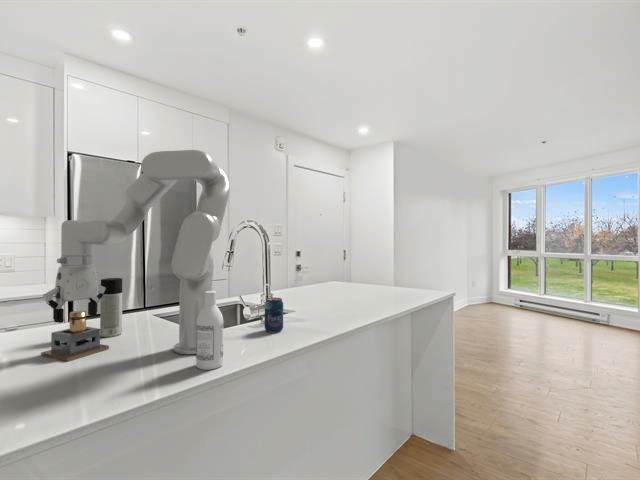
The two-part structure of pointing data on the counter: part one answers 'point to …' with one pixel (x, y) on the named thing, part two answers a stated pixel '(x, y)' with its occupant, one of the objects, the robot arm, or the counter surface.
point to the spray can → (111, 308)
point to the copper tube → (78, 323)
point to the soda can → (273, 315)
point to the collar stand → (74, 344)
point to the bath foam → (209, 334)
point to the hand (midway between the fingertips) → (76, 318)
